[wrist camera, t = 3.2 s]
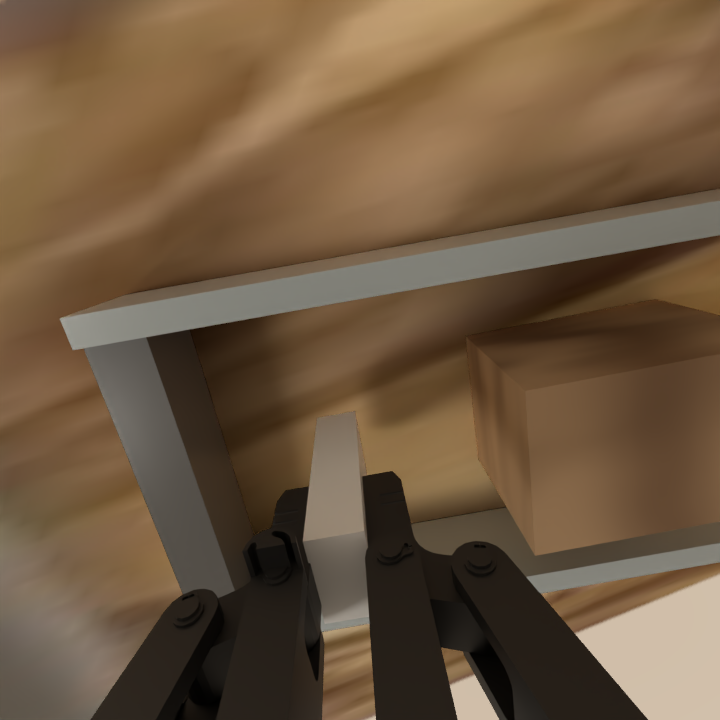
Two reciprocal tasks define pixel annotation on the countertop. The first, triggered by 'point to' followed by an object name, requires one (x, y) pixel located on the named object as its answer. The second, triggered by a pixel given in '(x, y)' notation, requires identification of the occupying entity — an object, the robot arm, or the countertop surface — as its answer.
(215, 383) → the countertop surface
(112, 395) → the grey u-shaped frame
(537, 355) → the walnut block
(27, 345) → the countertop surface
